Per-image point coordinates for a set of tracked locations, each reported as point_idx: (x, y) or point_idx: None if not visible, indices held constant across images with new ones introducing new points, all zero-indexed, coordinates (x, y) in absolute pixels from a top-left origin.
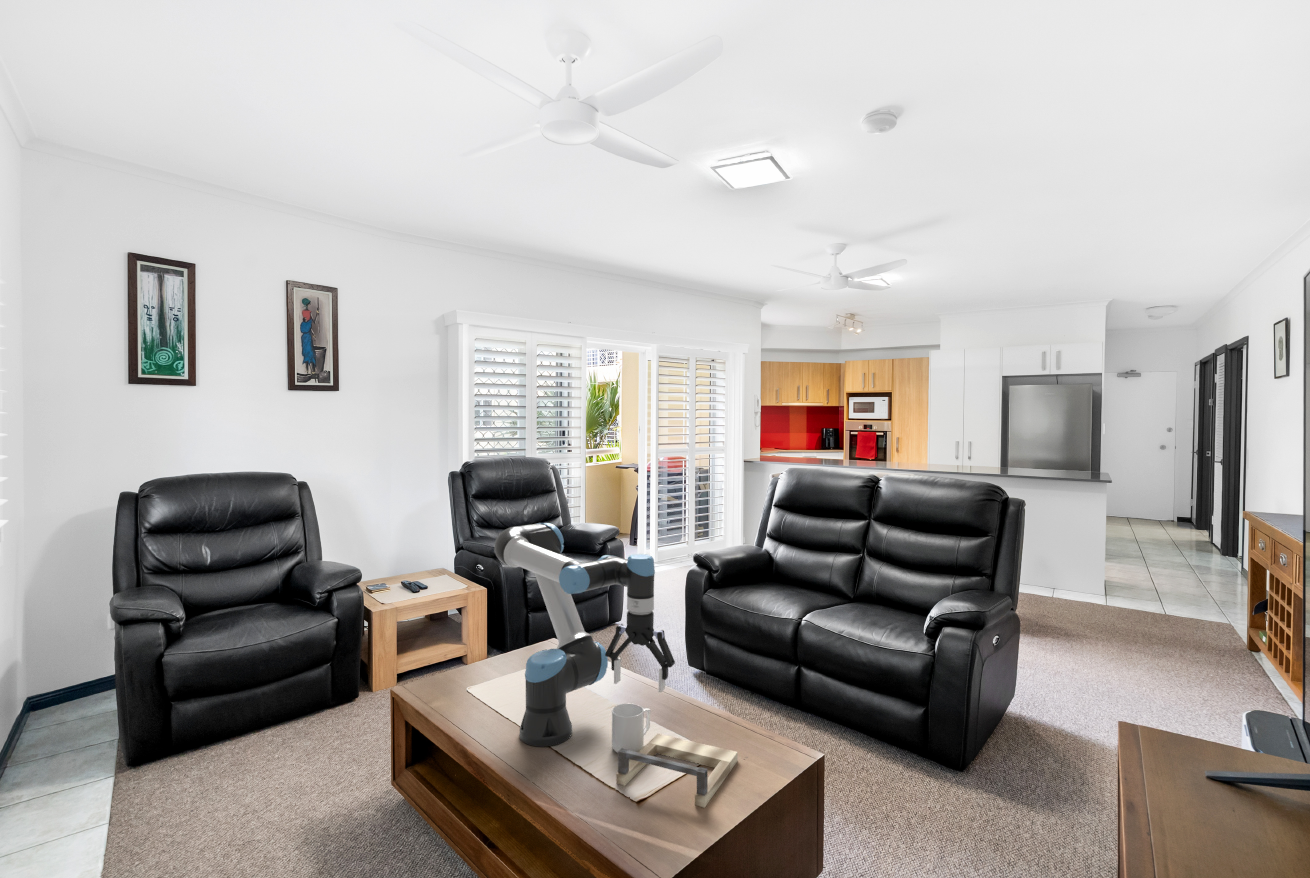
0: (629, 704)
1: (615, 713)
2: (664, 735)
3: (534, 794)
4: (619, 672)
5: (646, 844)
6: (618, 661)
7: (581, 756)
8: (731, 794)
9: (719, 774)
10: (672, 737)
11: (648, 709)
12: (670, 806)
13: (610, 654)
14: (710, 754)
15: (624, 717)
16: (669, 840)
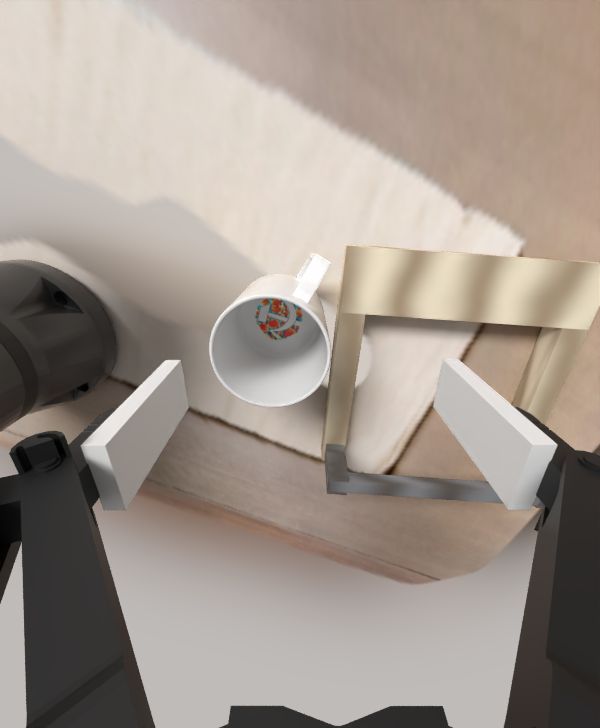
0: (248, 300)
1: (219, 338)
2: (372, 250)
3: (203, 512)
4: (162, 398)
5: (427, 551)
6: (124, 470)
7: (196, 384)
8: (566, 406)
9: (555, 392)
10: (400, 253)
11: (323, 267)
12: (444, 473)
13: (19, 533)
14: (531, 310)
15: (284, 405)
16: (459, 537)
